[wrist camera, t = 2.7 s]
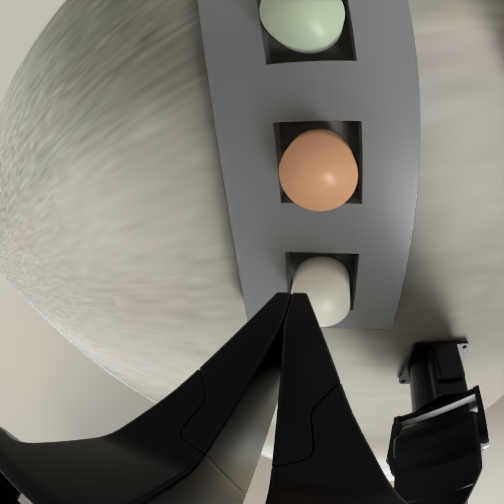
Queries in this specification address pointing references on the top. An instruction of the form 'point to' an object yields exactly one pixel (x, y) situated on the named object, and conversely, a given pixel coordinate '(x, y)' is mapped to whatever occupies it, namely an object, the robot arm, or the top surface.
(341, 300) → the button white
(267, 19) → the button sage
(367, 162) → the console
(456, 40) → the top surface
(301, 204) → the button terracotta
